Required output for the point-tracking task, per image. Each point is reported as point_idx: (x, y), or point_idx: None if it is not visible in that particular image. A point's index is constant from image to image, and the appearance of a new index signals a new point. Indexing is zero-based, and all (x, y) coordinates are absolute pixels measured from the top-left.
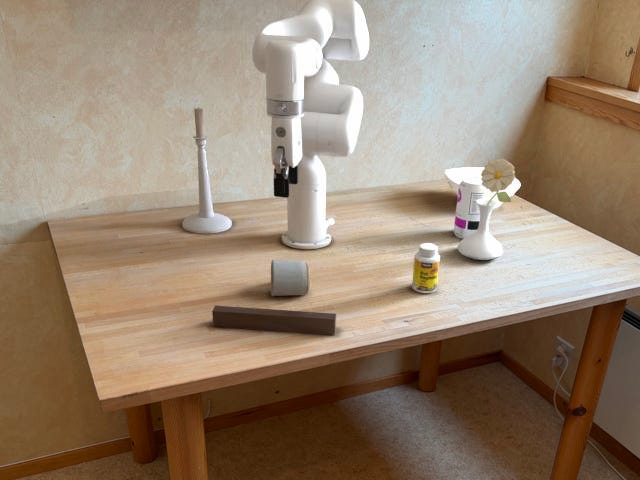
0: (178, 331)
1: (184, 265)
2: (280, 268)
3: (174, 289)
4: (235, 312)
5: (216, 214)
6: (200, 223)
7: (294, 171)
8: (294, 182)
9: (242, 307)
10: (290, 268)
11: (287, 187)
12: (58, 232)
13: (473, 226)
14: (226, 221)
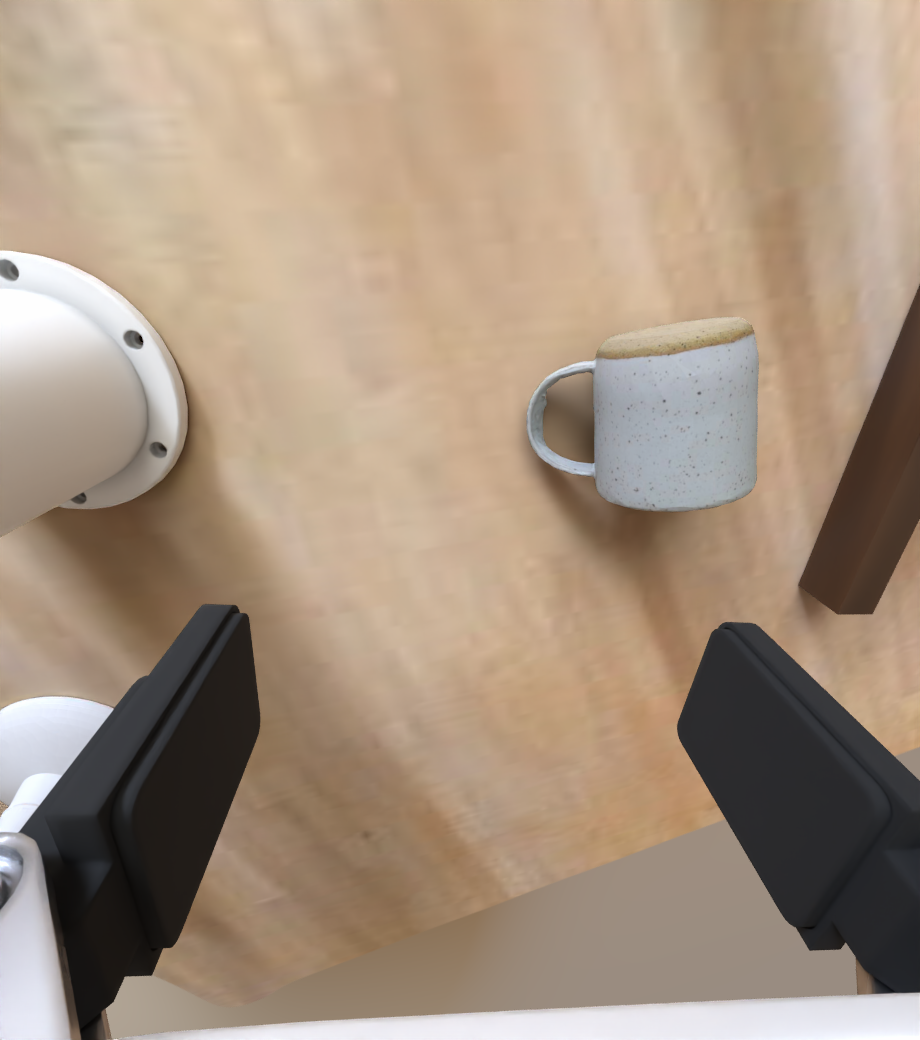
0: (832, 652)
1: (434, 734)
2: (749, 463)
3: (595, 716)
4: (902, 552)
5: (19, 770)
6: None
7: (178, 762)
8: (242, 641)
9: (874, 539)
10: (749, 418)
11: (827, 709)
12: (288, 981)
13: None
14: (48, 724)
